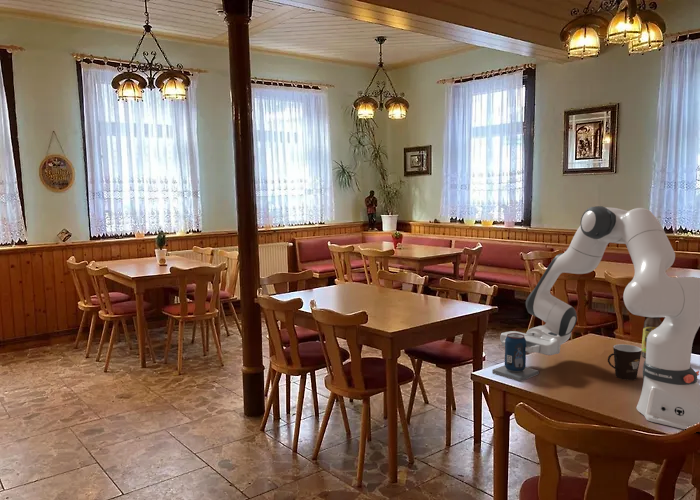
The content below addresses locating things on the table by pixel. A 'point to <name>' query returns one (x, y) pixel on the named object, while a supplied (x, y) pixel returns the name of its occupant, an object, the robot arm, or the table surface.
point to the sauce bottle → (649, 325)
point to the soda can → (515, 352)
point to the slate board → (515, 373)
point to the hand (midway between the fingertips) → (515, 346)
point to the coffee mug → (626, 361)
